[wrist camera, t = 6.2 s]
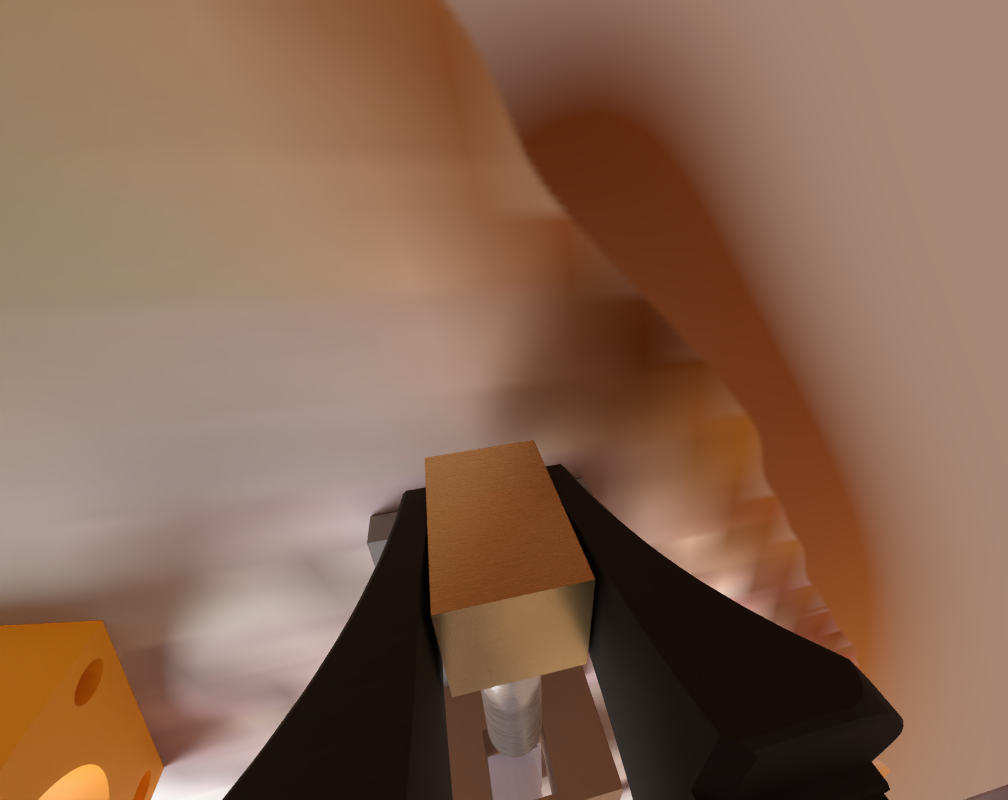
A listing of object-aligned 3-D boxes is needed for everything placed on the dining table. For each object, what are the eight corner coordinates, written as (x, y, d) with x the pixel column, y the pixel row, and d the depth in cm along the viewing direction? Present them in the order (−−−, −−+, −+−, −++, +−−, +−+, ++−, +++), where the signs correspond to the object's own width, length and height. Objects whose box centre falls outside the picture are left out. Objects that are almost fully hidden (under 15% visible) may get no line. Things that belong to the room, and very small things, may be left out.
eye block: (570, 682, 24) (615, 829, 18) (434, 716, 22) (441, 883, 17) (583, 478, 15) (671, 639, 10) (370, 516, 14) (345, 720, 9)
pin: (538, 651, 17) (574, 790, 13) (467, 668, 16) (483, 817, 13) (533, 440, 11) (595, 578, 7) (424, 458, 11) (430, 615, 7)
